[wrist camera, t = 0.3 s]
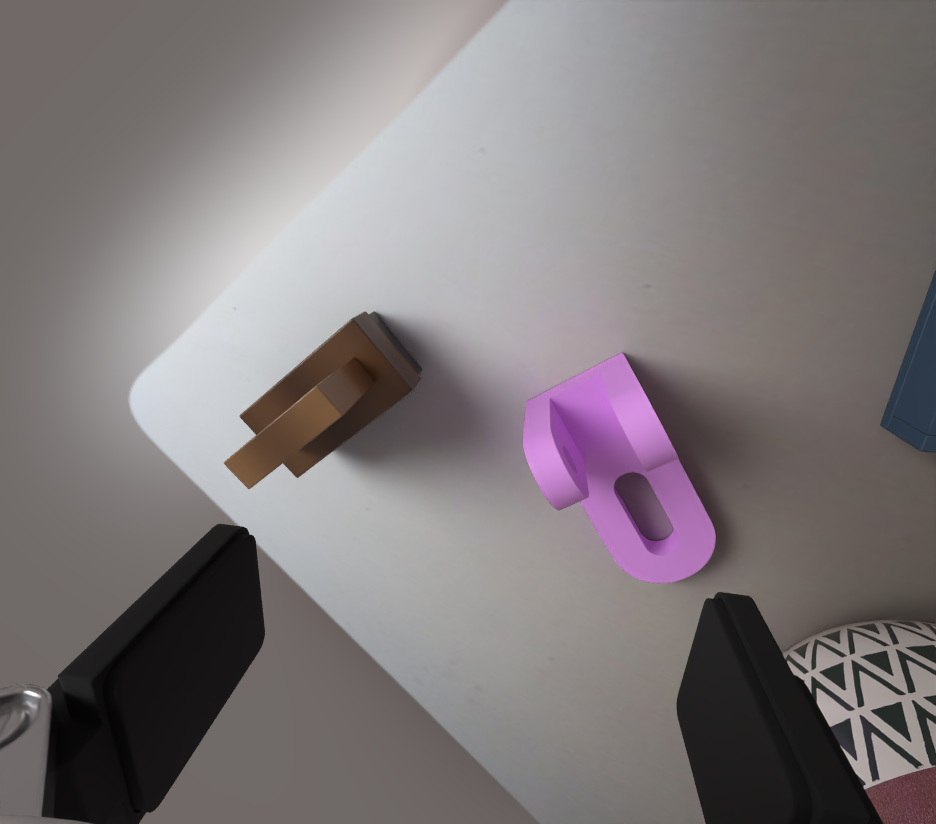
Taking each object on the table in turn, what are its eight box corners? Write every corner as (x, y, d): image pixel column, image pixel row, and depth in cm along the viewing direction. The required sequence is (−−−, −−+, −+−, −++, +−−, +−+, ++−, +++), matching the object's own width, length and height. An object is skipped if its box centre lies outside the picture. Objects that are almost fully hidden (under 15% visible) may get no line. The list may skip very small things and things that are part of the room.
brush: (374, 305, 28) (312, 340, 20) (427, 370, 28) (387, 426, 21) (270, 394, 30) (182, 453, 23) (322, 451, 31) (253, 525, 24)
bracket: (526, 401, 28) (520, 457, 22) (622, 352, 27) (646, 396, 20) (632, 580, 31) (654, 675, 25) (724, 546, 30) (773, 638, 23)
